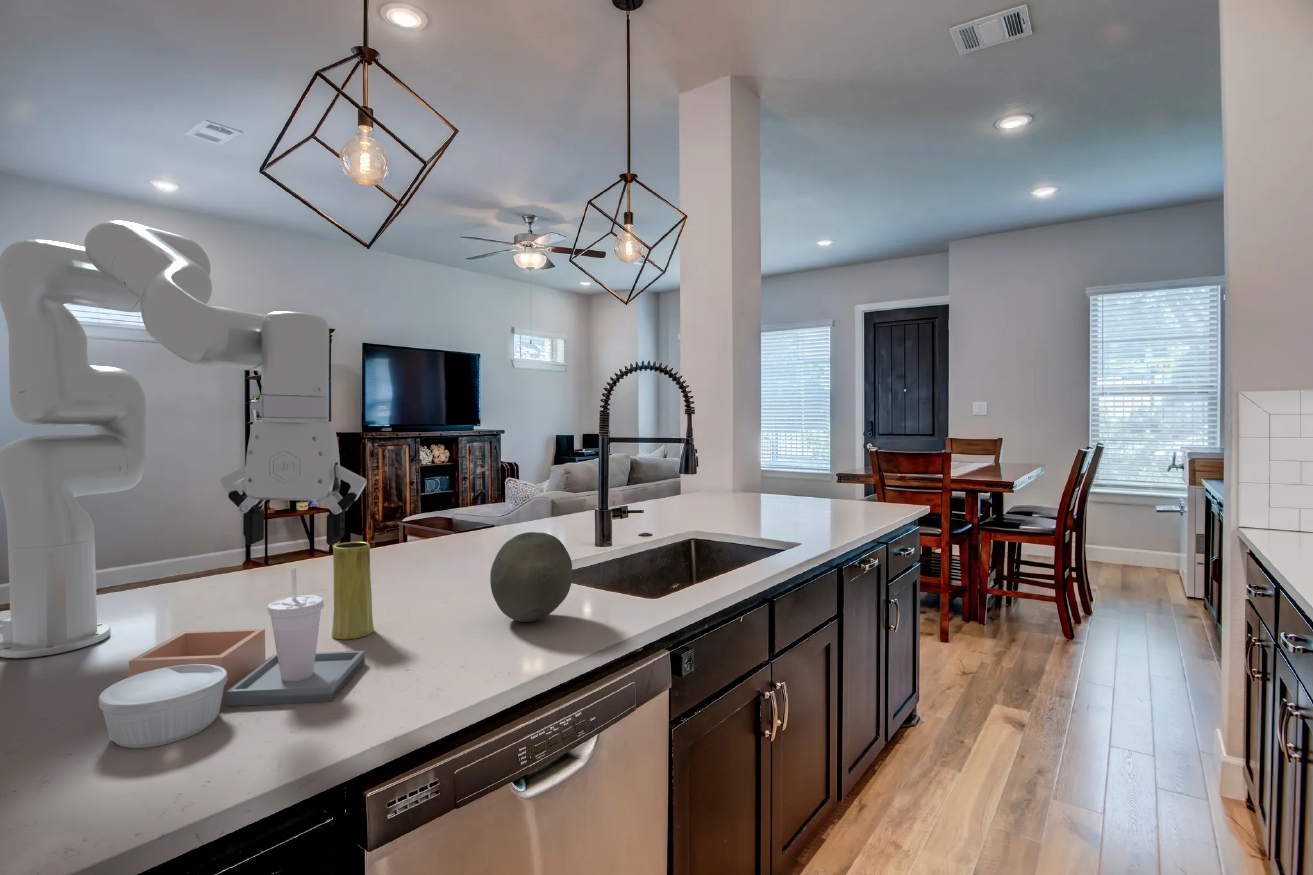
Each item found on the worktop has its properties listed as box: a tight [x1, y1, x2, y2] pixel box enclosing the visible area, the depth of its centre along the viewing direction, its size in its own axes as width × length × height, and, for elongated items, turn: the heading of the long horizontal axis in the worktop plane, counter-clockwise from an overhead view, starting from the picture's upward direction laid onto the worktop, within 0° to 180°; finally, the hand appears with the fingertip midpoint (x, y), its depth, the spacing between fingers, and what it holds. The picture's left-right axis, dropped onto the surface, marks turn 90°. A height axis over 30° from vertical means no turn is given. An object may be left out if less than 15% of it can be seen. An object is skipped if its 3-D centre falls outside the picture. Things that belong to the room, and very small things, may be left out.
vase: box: [331, 541, 375, 641], centre depth 102 cm, size 6×6×14 cm
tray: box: [225, 650, 366, 707], centre depth 83 cm, size 12×12×2 cm
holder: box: [128, 628, 267, 698], centre depth 83 cm, size 11×11×5 cm
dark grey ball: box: [489, 531, 573, 623], centre depth 108 cm, size 14×14×15 cm
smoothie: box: [267, 567, 325, 681], centre depth 83 cm, size 6×6×14 cm
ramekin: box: [98, 664, 227, 749], centre depth 71 cm, size 11×11×5 cm
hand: (294, 542), depth 82 cm, fingers open, 9 cm apart
